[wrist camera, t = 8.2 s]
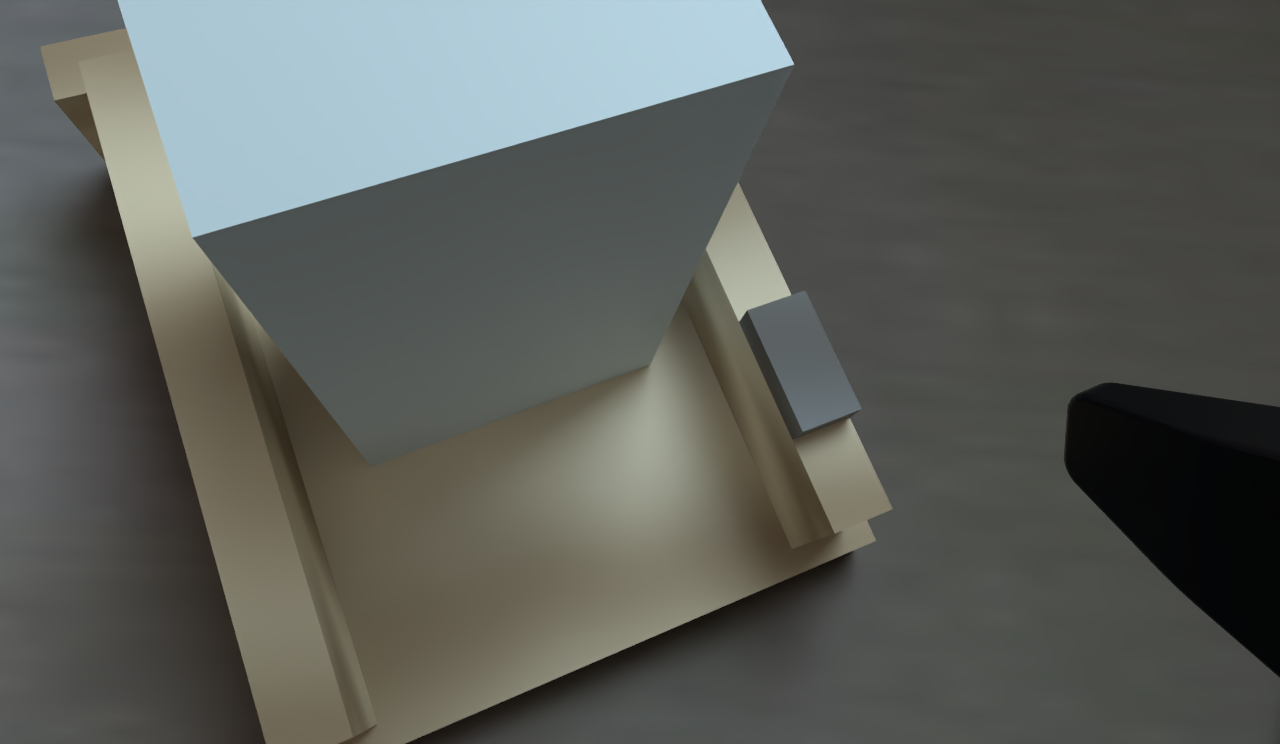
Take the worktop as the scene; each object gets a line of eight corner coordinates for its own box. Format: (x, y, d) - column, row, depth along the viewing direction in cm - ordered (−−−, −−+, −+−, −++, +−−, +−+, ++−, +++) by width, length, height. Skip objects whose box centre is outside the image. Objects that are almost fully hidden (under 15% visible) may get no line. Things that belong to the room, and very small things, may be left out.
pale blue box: (650, 364, 18) (795, 63, 9) (371, 466, 17) (192, 238, 8) (580, 204, 19) (643, -222, 10) (309, 287, 18) (80, -116, 8)
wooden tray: (854, 547, 19) (946, 519, 15) (302, 784, 16) (232, 829, 12) (618, 32, 22) (642, -106, 18) (124, 154, 19) (22, 24, 15)
